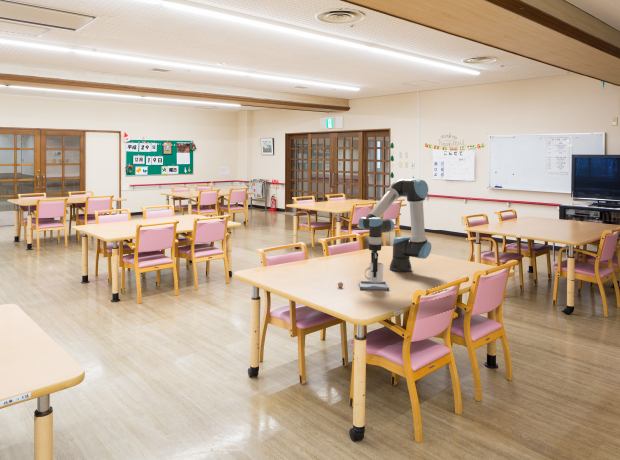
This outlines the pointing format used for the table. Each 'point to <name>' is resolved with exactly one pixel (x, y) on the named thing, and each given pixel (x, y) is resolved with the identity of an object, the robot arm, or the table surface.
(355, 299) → the table surface
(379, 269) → the mug
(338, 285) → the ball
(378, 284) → the tray
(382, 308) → the table surface
